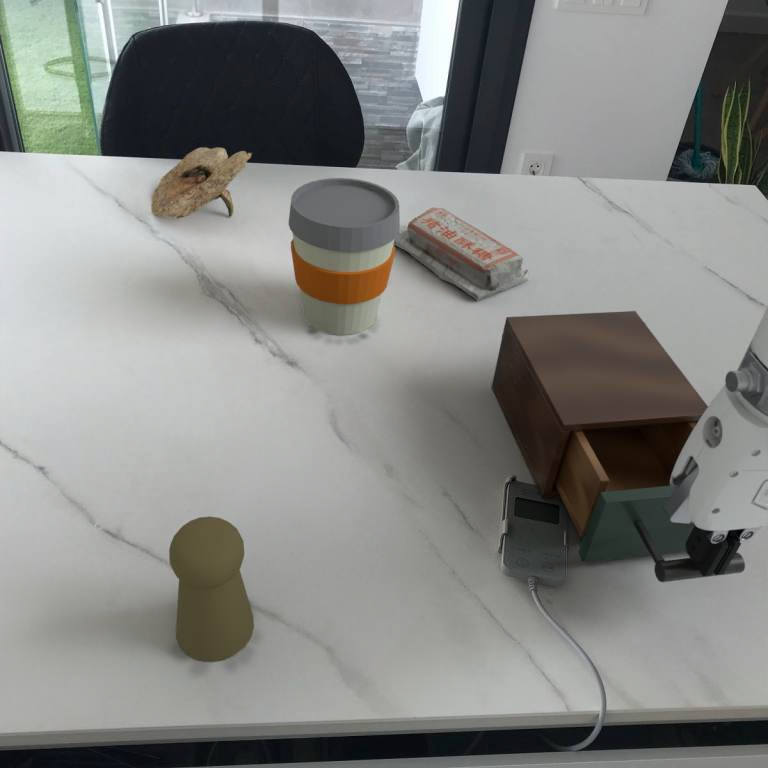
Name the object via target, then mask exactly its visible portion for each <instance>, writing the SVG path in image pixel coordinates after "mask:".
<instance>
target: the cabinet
mask: <svg viewBox="0 0 768 768" xmlns="http://www.w3.org/2000/svg"><path fill="white" fill-rule="evenodd" d="M492 379H493V380H492V383H491V387H490V389H491V390H492V393H493V395H494V396H495V400H496V402H497V404H498V406H499V408H500V410H501V412H502V414H503V417H504V419H505V421H506V423H507V426H508V428H509V430H510V433H511V434H512V436H513V438H514V441H515V444H516V445H517V447H518V449H519V452H520V454H521V457H522V458H523V461H524V462H525V465H526V467H527V469H528V471H529V473H530V476H531V479H532V480H533V483H534V485H535V487H536V489H537V491H538V494H539V496H540V498H541V499H542V500H543V499H553V498H561V496H560V493H559V491H558V489H557V487H556V485H555V483H554V481H555V478H556V475H557V472H558V468H559V465H560V462H561V459H562V456H563V452H564V449H565V446H566V443H567V440H568V436H569V433H570V431H573V430H586V429H599V428H612V427H624V426H637V425H650V424H662V423H675V422H688V421H695V422H696V424H697V423H698V421H699V419H700V418H701V416H702V415H703V413H704V412H705V410H706V409H707V408H708V406H709V405H708V404H707V403H706V402H705V400H704V399H703V398H702V397H701V395H700V394H699V393H698V391H697V389H695V387H694V386H693V385H692V383H691V382H690V381H689V379H688V378H687V377H686V375H685V374H684V372H682V370H681V369H680V368H679V366H678V365H677V364H676V362H675V361H674V360H673V358H672V357H671V356H670V354H669V353H668V352H667V350H666V349H665V348H664V346H663V345H662V344H661V342H660V341H659V340H658V339H657V337H656V336H655V335H654V334H653V332H652V331H651V329H650V328H649V327H648V326H647V324H646V323H645V322H644V320H643V319H642V318H641V316H640V315H639V314H638V313H637V310H629V311H628V310H625V311H605V312H586V313H585V312H583V313H564V314H544V315H543V314H541V315H522V316H507V317H506V318H505V322H504V327H503V331H502V336H501V341H500V345H499V351H498V355H497V360H496V364H495V369H494V374H493V378H492Z"/></svg>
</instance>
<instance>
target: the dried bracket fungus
mask: <svg viewBox="0 0 768 768" xmlns="http://www.w3.org/2000/svg"><path fill="white" fill-rule="evenodd" d="M251 158H252V152H247V151H245V150H241V151H238V152H236V153H234V154H232V155H231V156H230V157H229V155H228V154H227V150H226V148H224V147H214V148H209V147H206V146H205V147H203V146H201V147H198V148H196V149H194V150H192V151H191V152H189V153H187V154H186V155H185V156H184V157H183V159H181V160H180V161H179V162H178V163H177V164H176V165H175V166H174V167H173V168H171V169H170V170H169V171H168V172H167V173H165V175H163V176H162V177H161V179H160V180H159V181H160V182H158V185H156V188H155V189H154V191H153V194H152V198H151V205H150V207H151V208H150V209H151V214H153V215H155V216H159V217H165V218H168V217H169V218H172V219H178V220H179V219H180V218H184V217H188V216H190V215H192V214H193V213H195V212H196V211H197V210H199V209H201V208H202V207H203V206H205V205H206V204H208V203H210V202H212V201H213V200H218V199H221V200H222V201H223V203H224V205H225V207H226V209H227V213H228V217H229V218H232V217H233V213H234V205H233V200H232V196H231V195H232V194H231V192H230V191H229V190H228V189H227V187H228V186H229V185H230V183H231V182H232V181H233V180H234V179H235V178H236V177H237V176H238V174H240V172H241V171H242V170H243V169H244V168H245V167H246V163H247V162H248V160H250V159H251Z"/></svg>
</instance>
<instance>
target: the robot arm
mask: <svg viewBox="0 0 768 768" xmlns="http://www.w3.org/2000/svg"><path fill="white" fill-rule="evenodd" d="M724 380H725V381H724V382H725V384H724V385H723V386H722V388H721V389H720V390H719V391H718V393H717V394H716V395H715V396H714V397H713V399H712V401H711V402H710V403H709V405H707V406H708V408H707V409H706V410H705V412H704V413H703V415H702V416H701V418H700V419H699V421H698V423H697V424H696V426H695V428H694V429H693V431H692V432H691V434H690V436H689V438H688V440H687V441H686V443H685V445H684V447H683V449H682V451H681V453H680V455H679V457H678V459H677V461H676V464H675V466H674V469H673V472H672V474H671V479H670V485H671V486H672V487H674V488H677V489H676V490H675V492H674V493H673V494H672V495H671V497H670V498H669V499H668V501H667V502H666V503H665V504H664V506H663V509H664V511H665V512H666V514H667V516H668V517H669V519H670V521H671V522H674V523H686V524H690V523H694V524H695V526H694V528H693V530H692V532H691V533H690V535H689V537H688V539H687V541H686V544H685V546H686V550H687V551H686V553H687V555H688V558H691V560H692V561H694V563H695V564H696V566H697V568H698V570H699V571H700V573H701V575H702V576H710V577H712V576H711V575H712V573H714V574H715V575H718V576H721V575H720V574H724V572H725V571H726V569H727V567H728V565H729V564H730V562H731V560H732V559H733V557H734V555H735V554H736V553H738V550H739V549H740V547H741V545H742V542H744V541H748V540H751V539H752V538H753V537H754V536H755V535H756V534H757V533H758V531H759V530H760V529H761V528H765V527H768V306H767V308H766V309H765V311H764V313H763V315H762V318H761V320H760V321H759V324H758V326H757V328H756V329H755V332H754V334H753V336H752V339H751V341H750V343H749V344H748V347H747V349H746V351H745V353H744V355H743V357H742V360H741V361H740V364H739V366H738V368H737V370H729V371H727V373H726V375H725V378H724ZM741 541H742V542H741Z"/></svg>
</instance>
